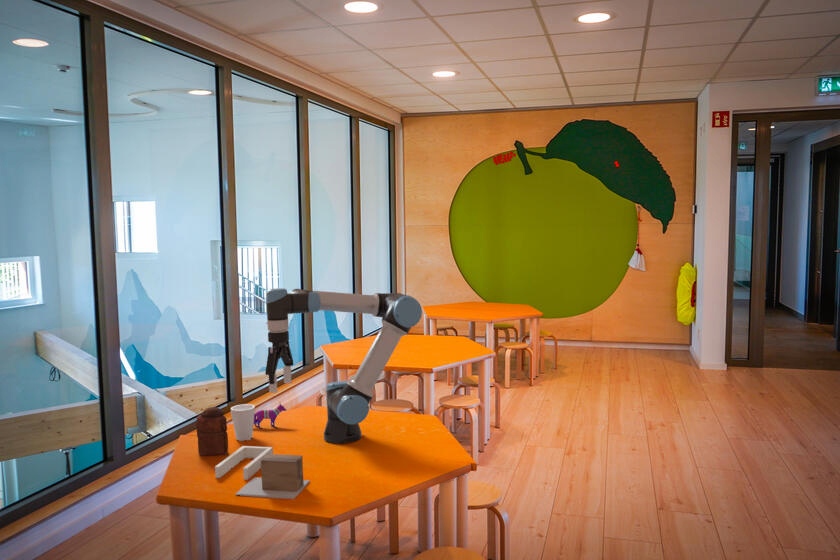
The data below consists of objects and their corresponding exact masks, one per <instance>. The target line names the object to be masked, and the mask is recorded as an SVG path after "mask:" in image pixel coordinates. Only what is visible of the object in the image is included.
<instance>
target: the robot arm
mask: <svg viewBox="0 0 840 560" xmlns="http://www.w3.org/2000/svg"><path fill="white" fill-rule="evenodd" d="M265 302H266V319H267V321H266V325H267V331H268V333H267V341H268V342H269V343H270V344H272V345H271V346H268V348H267V351H268V352H267V360H266V366H265V373H264V374H265V375H266V376H268V391H269V393H270V394H271V393H272V394H273V393H275V394H276V393H278V380H277V377H278V375H277V374H276V372H277V368H278V364H279V360H280V359H281V360H282V362H283V367H282V369H283V384H292V366H294V359H293V356H292V352H291V347H290V341H289V340H290V332H289V331H288V330H289V327H290V326H289V315H292V314H294V315H295V314H307V313H310V314H312V313H318V312H319V311H323V312H325V311H327V312H339V313H341V312H342V313H351V314H354V313H355V314H367V315H371V316H372V317H377V318H382V319H381V323H382V326H381V328H380V330H379V331H378V333H377V335H376V336H375V339H374V340H373V342H372V343H371V346H370V348H369V349H368V351H367V353H366V355H365V357H364V358H363V360H362V362H361V364H360V365H359V367H358V369H357V371H356V372H355V374H354V376H353V378H352V379H350V380H339V381H338V380H337V381H332V382H329V383H327V384H326V389H325V390H326V391H325V393H326V410H327V411H326V413H327V421H326V424H325V428H324V431H323V440H324V441H325V442H328V443H330V444H338V445H339V444H348V443H349V444H350V443H354V442H357V441H359V440H360V439H361V438H362V429H361V427H360V423H362V422H364V420H365V419H367V416H368V415H369V411H370V405H369V404H370V402H371V401H372V399H373V396H374V395H373V389H374V388H375V385H376V384H377V382H378V380H379V379H380V376H381V375H382V372H383V371H384V369H385V367H386V366H387V364H388V362H389V360H390V358H391V357H392V355H393V353H394V351H395V349H396V347H397V346H398V344H399V342H400V340H401V338H402V337H404V336H407V335H408V334H409V333H410V330H411V329H412V327H414V326H416V325H417V324H419V322H420V321H421V319H422V315H423V309H422V306H421V305H422V304H420V302H419V301H418V300H417V299H416V298H414V297H413V296H410V295H409V294H408V295H407V294H403V293H400V292H390V293H389V292H388V293H387V292H386V293H381V292H379V293H378V292H375V293H374V294H364V293H363V294H361V293H360V294H359V293H348V292H346V293H345V292H336V291H334V292H333V291H322V290H321V291H320V290H308V289H307V290H306V289H301V288H294V289H291V290H290V291H289V292H288V290H287V289H286V288H270V289H268V290H267V291H266V301H265Z"/></svg>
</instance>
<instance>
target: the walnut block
mask: <svg viewBox="0 0 840 560" xmlns="http://www.w3.org/2000/svg"><path fill="white" fill-rule="evenodd" d="M303 465H304V463H303V455H302V454H301V455H299V454H297V455H296V454H295V455H294V454H278V453H273V454H268V455H267V456H265V457H264V458H263V459H262V460H261V469H260V471H261V472H260V473H261V478H262V490H272V491H289V492H297V491H298V490H299V489H300V488H301V487H302V486H303V485H304V483H303V480H304V466H303Z"/></svg>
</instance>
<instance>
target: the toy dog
mask: <svg viewBox="0 0 840 560" xmlns="http://www.w3.org/2000/svg"><path fill="white" fill-rule="evenodd" d="M283 411H284V412H286V411H287V409H286V408H285V407H284V405H283V404H281V403H279V405H278V406H277V407H276V408H273V409H260V410H257V411H255V413H254V424H253V426H254V427H255V428H258V429H260V430H262V429H263V427H261V425H260V424H261V422H262V421H263V420H264V419H268V420H270V426H271V427H273V428H274V429H277V428H278V427H277V426H275V421H276V420H277V418H278V416H279V415H280V414H281V413H282V412H283Z"/></svg>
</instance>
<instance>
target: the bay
mask: <svg viewBox="0 0 840 560" xmlns="http://www.w3.org/2000/svg"><path fill="white" fill-rule="evenodd" d="M273 448H274V447H273V446H256V445H255V446H253V445H252V446H251V445H250V446H249V445H242V446H241V447H239V448H238V449H237V450H235V451H234V452H233V453H231V454H230V455H228V456H227V457H226V458H225V459H223V460H222V461H221V462H219V463H218V464H217V465H215V466H214V472H215V473H214V475H215V476H214V477H215V478H216V479H221V478H222V477H223V476H224V475H225V474H226V473H228V472H229V471H230V470H232V469H233V468H234V467H236V466H237V465H238V464H240V463H241V462H242V461H243V460H245V459H253V460H251V461H250V462H249V463H248V464H247V465H245V466H244V467H242V470H243V472H242V473H243V474H242V475H243V480H244V481H245V480H246V481H247V480H250V478H252V477H253V476H254V475H256V474H257V472H259V471H260V470H261V460H262V459H263V458H264V457H265V456H267V455H268V454H274V449H273ZM240 461H241V462H240ZM235 465H236V466H235ZM231 468H232V469H231ZM259 469H260V470H259Z"/></svg>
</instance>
